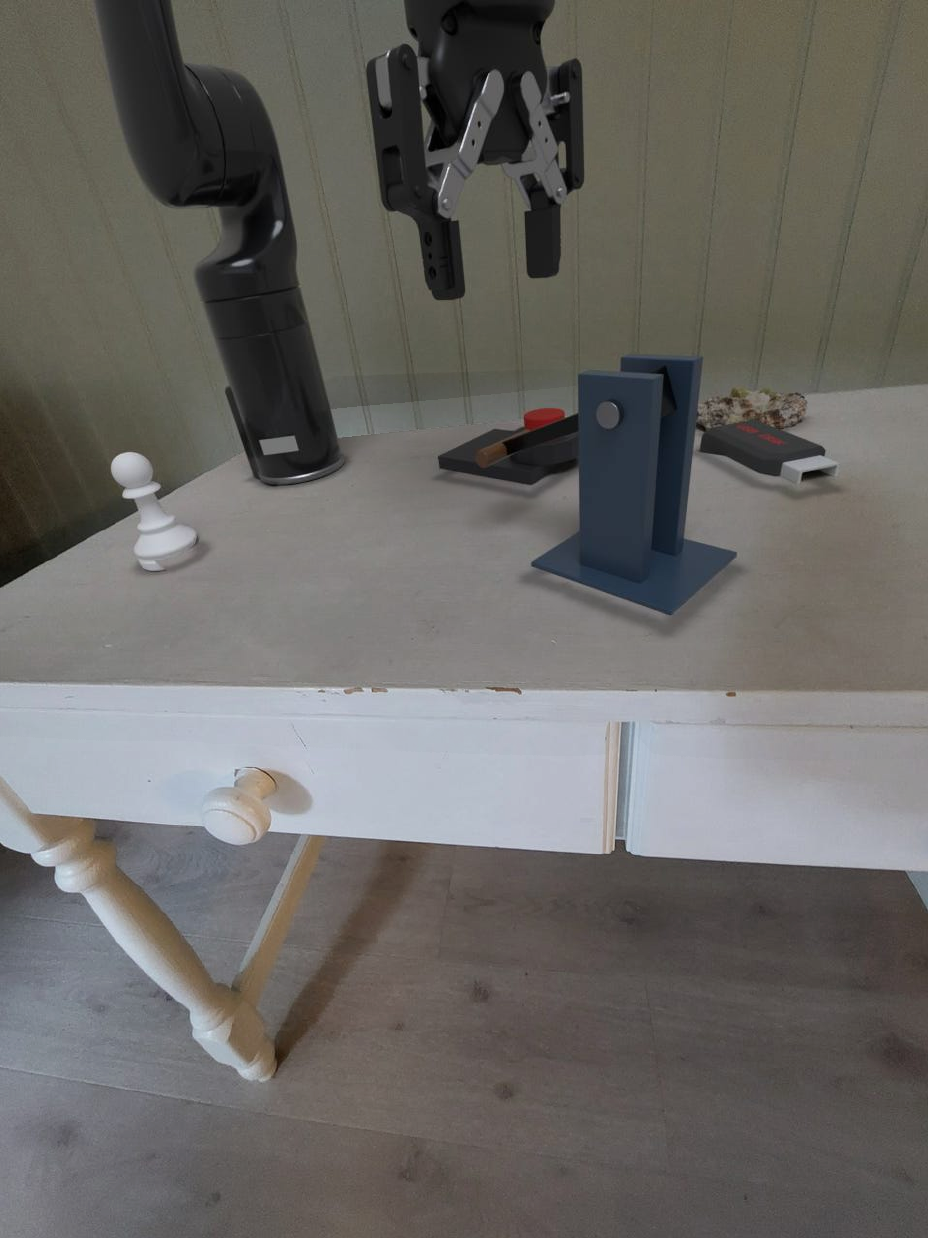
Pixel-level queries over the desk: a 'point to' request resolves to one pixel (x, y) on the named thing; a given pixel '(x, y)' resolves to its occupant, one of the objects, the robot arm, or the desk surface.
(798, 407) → the mineral rock
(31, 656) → the desk surface
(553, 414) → the red button
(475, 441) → the box
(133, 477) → the chess pawn
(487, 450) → the switch lever
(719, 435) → the usb drive
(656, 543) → the stand
